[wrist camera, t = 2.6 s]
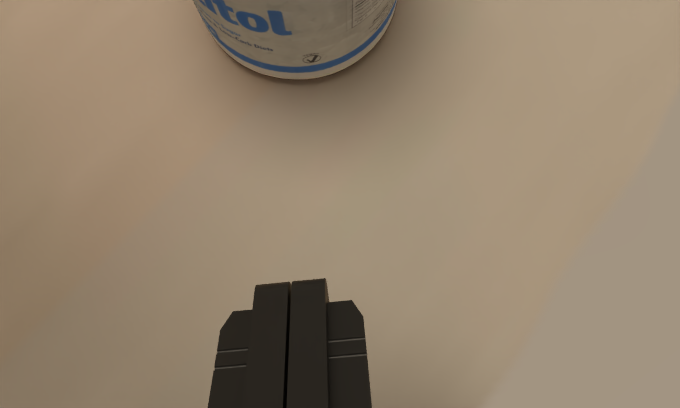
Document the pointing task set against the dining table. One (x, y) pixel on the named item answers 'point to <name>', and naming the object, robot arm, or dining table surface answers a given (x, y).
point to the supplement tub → (296, 33)
